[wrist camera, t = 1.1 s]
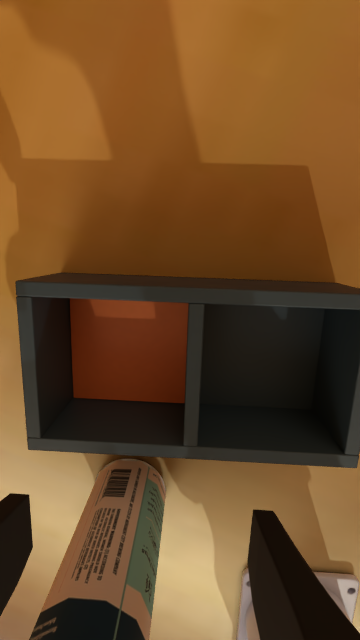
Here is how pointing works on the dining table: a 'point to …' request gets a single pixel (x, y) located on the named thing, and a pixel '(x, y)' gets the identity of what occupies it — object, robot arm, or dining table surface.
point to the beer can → (109, 560)
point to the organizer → (191, 367)
